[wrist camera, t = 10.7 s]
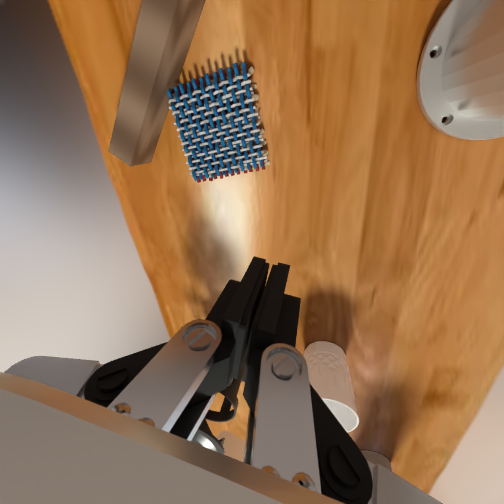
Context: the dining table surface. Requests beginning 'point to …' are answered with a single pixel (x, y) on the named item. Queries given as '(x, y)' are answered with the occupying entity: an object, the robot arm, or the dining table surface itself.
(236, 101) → the woven mat
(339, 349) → the white cup
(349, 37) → the dining table surface
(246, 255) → the dining table surface
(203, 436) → the french press
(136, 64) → the bar
